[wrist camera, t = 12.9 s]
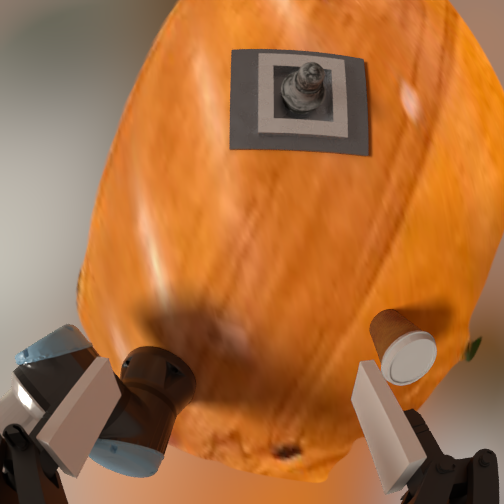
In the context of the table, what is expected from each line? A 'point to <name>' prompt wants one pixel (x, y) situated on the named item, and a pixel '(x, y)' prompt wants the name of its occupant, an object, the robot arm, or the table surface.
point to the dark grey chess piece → (304, 89)
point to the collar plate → (285, 121)
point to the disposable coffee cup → (402, 348)
